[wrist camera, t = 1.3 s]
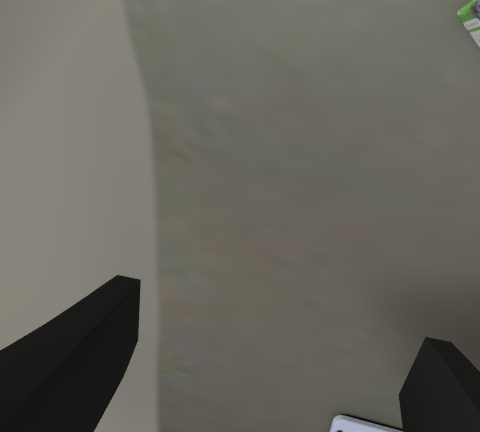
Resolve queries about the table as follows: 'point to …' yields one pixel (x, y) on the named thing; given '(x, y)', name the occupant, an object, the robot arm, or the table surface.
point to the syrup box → (471, 19)
